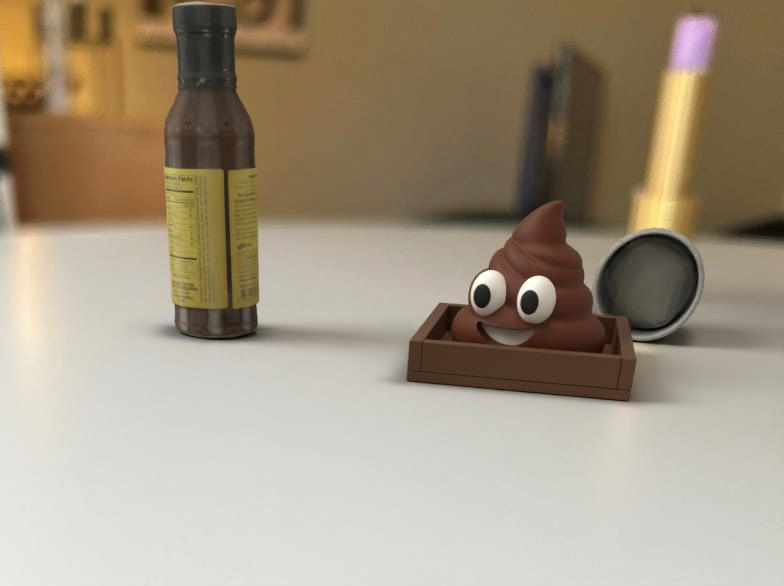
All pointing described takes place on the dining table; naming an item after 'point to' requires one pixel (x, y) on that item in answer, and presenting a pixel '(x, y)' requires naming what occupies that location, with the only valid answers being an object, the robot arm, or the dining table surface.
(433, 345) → the walnut tray
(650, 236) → the ceramic mug
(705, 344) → the dining table surface
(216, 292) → the sauce bottle
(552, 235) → the poop emoji
